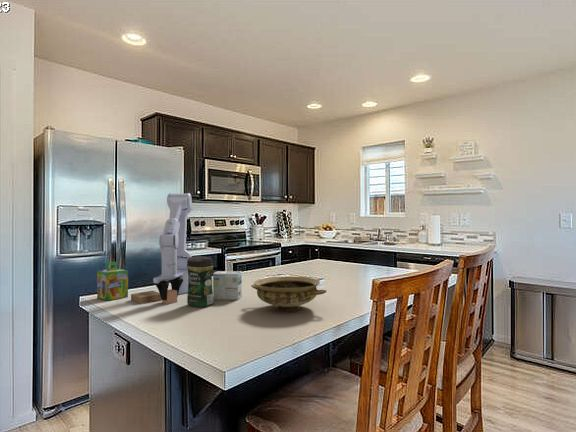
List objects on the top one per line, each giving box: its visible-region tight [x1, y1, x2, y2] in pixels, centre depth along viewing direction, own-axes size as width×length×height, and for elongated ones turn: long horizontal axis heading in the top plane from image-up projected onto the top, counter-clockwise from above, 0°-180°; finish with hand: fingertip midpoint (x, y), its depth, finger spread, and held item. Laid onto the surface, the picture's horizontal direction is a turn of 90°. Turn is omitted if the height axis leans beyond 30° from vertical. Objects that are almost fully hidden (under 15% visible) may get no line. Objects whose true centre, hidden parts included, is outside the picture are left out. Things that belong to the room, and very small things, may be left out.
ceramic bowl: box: [251, 276, 327, 312], centre depth 132 cm, size 30×24×10 cm
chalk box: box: [96, 261, 129, 301], centre depth 153 cm, size 9×9×15 cm
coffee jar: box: [186, 255, 214, 308], centre depth 139 cm, size 10×8×19 cm
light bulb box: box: [212, 270, 243, 301], centre depth 150 cm, size 11×7×11 cm, turn 84°
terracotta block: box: [161, 288, 178, 305], centre depth 144 cm, size 4×4×4 cm
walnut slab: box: [130, 290, 162, 305], centre depth 148 cm, size 9×9×3 cm
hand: (169, 298), depth 144 cm, fingers closed on terracotta block, 5 cm apart
